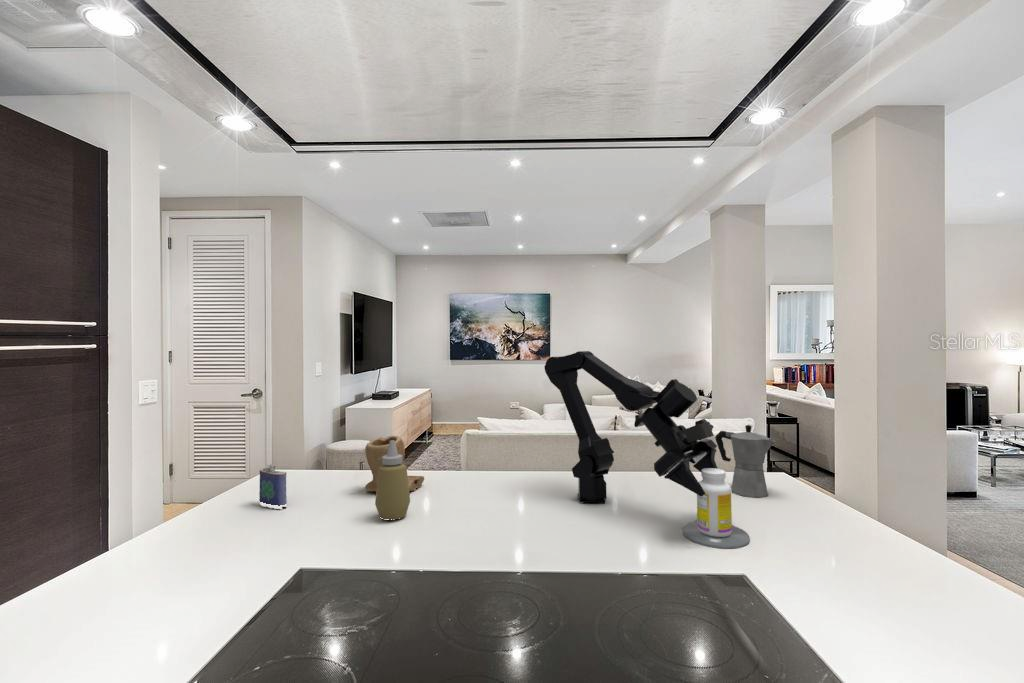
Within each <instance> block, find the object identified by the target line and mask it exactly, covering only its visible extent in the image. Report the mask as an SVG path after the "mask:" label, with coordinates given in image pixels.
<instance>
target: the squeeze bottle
mask: <svg viewBox="0 0 1024 683" xmlns="http://www.w3.org/2000/svg"><path fill="white" fill-rule="evenodd" d="M382 464H383V465H381V466H380V467H379V468H378V478H377V489H376V492H375V504H374V505H375V508H376V510H377V513H378V516H379V518H380V517H381V518H383V519H389V520H391V519H392V520H393V519H399V518H402V517H404V516H405V515H406V516H407V512H408V510H409V506H410V502H411V497H410V495H411V494H410V491H409V485H408V476H409V475H408V471H407V469H408V467H407V465H406V464H405V463H402V455H400V454H398V452H397V448H396V444H395V440H390V442H389V447H388V452H387V455H384V456H383V457H382ZM406 516H405V517H406ZM405 517H404V518H405ZM381 518H380V519H381ZM402 519H403V518H402ZM399 520H400V519H399Z"/></svg>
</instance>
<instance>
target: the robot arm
mask: <svg viewBox="0 0 1024 683" xmlns="http://www.w3.org/2000/svg"><path fill="white" fill-rule="evenodd" d="M579 370H584V371H585V372H586V373H587V374H589V375H590V376H592V377H593V379H595V380H597V381H598V382H600V383H601V384H602V385H604V386H605V387H606V388H608V389H609V390H610V391H611V392H613V394H614V396H615V398H616V400H617V401H618V402H619V403H620V404H621V406H623V407H624V408H625V409H626V410H628V411H629V412H635V411H641V410H644V411H643V412H642V413H641V414H635V416H634V417H635V419H634V428H638V427H642V426H645V428H646V429H647V430H648V431H649V433H650V434H651V435H652V437H653V438H654V439H655V442H654V443H653V444H654V445H655V446H656V447H661V448H662V449H663V451H664V452H665V453H664V454H662V456H661V457H660V458H658V459H657V460H656V461H655V462H654V463H653V470H654V471H655V473H656V474H657V475H658V477H660V478H661V477H663V476H664V477H663V478H664V479H665V480H667V479H668V480H670V481H671V482H674V483H676V484H678V485H680V486H681V487H683V488H686V489H687V490H689V491H690V492H693V493H694V494H696V496H697V495H699V496H703V495H704V494H705V492H704V490H703V488H702V487H701V485H700V484H699V482H700V481H698V479H697V478H696V476H695V474H694V473H693V471H692V470H691V467H690V466H691V465H690V464H691V463H692V464H693V465H692V467H694V468H695V469H696V470H697V471H699V472H700V473H701V470H702V469H704V468H715V469H719V468H718V465H717V462H716V461H715V455H716V453H717V447H718V445H717V443H715V442H714V441H713V439H709V438H711V437H713V436H715V435H714V433H713V429H714V425H713V424H711V423H710V421H708V420H706V419H705V418H703V419H702V418H701V419H699V420H696V421H695V424H694V425H693V426H690V427H688V428H686V427H685V426H684V425H682V424H680V425H678V424H677V423H676V422H675V421H674V420H673V419H672V418H680V417H681V416H682V415H683V414H684V413H686V412H687V411H688V409H690V408H691V407H692V406H693V405H694V404H695V403H696V402H697V401H698V397H697V395H696V394H695V392H694V390H692V388H690V387H689V386H687V385H685V384H684V383H682V382H679V380H678V379H676V378H675V379H670V380H669V381H668V382H667V384H666V386H665V387H663V389H662V390H661V391H656V390H654V389H653V388H652V387H651V386H649V385H647V384H645V383H643V382H642V381H641V382H640V381H639V380H638V381H637V380H634V379H631V378H628V377H627V376H624V375H623V374H621V373H620V372H619V371H617V370H615V369H614V368H613V367H612V366H610V365H609V364H607V363H606V362H604V361H603V360H601V359H600V358H599V357H597V356H596V355H594V353H593V352H591V351H590V350H589V351H588V350H584V351H583V350H581V351H579V350H578V351H576V352H573V353H571V354H568V355H567V354H566V355H563V356H550V357H549V358H548V359H546V361H545V365H544V372H545V374H546V375H547V377H548V379H549V381H550V383H551V384H552V385H553V386H554V387H555V388H557V390H558V391H559V392H560V395H561V397H562V399H563V402H564V403H563V404H564V405H565V408H566V411H567V413H568V415H569V418H570V420H571V422H572V423H571V424H572V426H573V429H574V431H575V433H576V435H577V439H578V449H577V450H578V451H577V455H578V458H579V461H578V462H577V463H575V465H574V466H573V467H572V468H571V471H572V476H573V477H574V478H576V479H577V481H578V484H577V486H578V493H577V498H578V502H579V501H580V502H598V503H597V504H606V503H605V502H607V501H606V500H607V482H606V480H605V476H604V475H608V474H609V472H610V468H612V466H613V464H614V463H613V462H614V461H615V459H614V458H615V457H614V453H615V451H614V450H613V449H612V446H611V443H610V441H609V439H608V438H607V437H605V438H602V437H601V436H600V435H598V433H597V431H596V429H595V426H594V424H593V421H592V419H591V416H590V414H589V411H588V409H587V406H586V404H585V402H584V401H585V400H584V398H583V396H582V393H581V391H580V388H579V386H578V377H579V372H578V371H579ZM654 404H655V405H654ZM653 405H654V406H653ZM652 406H653V407H652ZM580 502H579V503H580Z"/></svg>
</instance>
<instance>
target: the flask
mask: <svg viewBox="0 0 1024 683" xmlns="http://www.w3.org/2000/svg"><path fill="white" fill-rule="evenodd" d="M276 467H277V464H276V463H274V464H271V463H270V464H267V467H265V468H261V469H260V470H259V492H258V494H259V500H258V501H260V502H263V503H266V504H271V505H278V506H280V505H285V504H287V502H288V501H287V472H286V471H279V470H276ZM287 505H288V504H287Z"/></svg>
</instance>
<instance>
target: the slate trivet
mask: <svg viewBox="0 0 1024 683" xmlns="http://www.w3.org/2000/svg"><path fill="white" fill-rule="evenodd" d="M681 534H682V535H683V536H684V537H685V538H686V539H688V540H689V541H691V542H693V543H695V544H697V545H701V546H705V547H710V548H714V549H715V548H716V549H725V550H727V549H729V550H730V549H739V548H740V549H741V548H743V547H746V546H748V544H750V539H751V538H750V535H749V533H748V532H746V530H743V529H742V528H740V527H738V526H735V525H733V524H732V533H731V534H730V535H729V536H726V537H713V536H708V535H705V534H703V533H701V532H700V531H699V529H698V524H697V520H696V521H689V522H687V523H685V524H683V525H682V527H681Z"/></svg>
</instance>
